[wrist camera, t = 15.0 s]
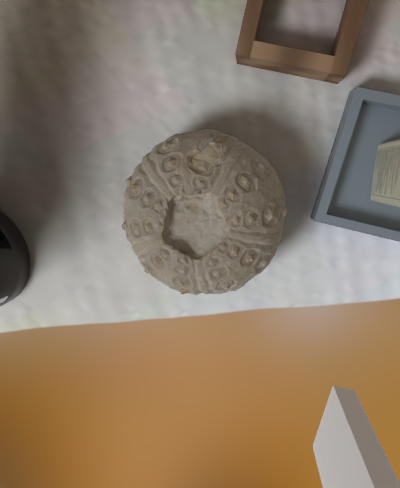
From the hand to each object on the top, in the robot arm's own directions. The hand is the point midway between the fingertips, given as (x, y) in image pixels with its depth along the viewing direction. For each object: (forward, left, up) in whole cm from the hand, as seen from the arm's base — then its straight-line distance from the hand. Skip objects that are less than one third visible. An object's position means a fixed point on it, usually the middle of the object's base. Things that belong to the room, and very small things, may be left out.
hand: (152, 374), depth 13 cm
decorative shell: (-2, +2, -31) cm, 31 cm away
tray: (+17, +11, -30) cm, 36 cm away
